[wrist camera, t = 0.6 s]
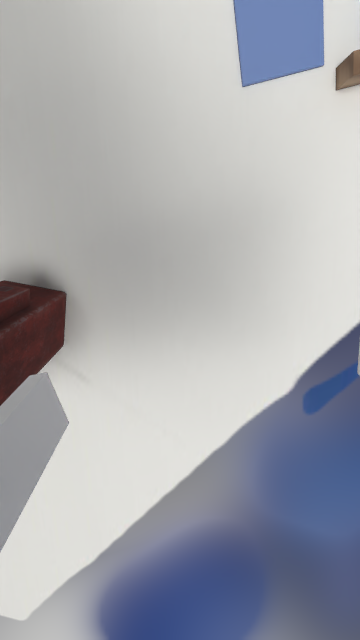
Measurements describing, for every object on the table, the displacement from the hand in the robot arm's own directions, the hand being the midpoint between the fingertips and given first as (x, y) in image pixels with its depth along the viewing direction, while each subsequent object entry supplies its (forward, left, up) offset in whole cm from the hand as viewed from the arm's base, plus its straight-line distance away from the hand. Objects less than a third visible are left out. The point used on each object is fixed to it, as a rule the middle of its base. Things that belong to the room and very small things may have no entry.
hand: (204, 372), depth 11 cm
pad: (-24, +15, -27) cm, 39 cm away
